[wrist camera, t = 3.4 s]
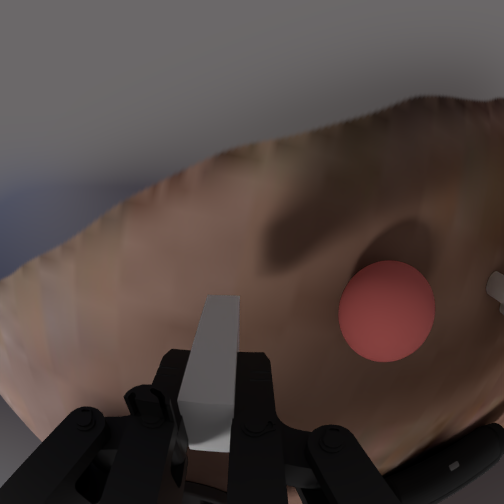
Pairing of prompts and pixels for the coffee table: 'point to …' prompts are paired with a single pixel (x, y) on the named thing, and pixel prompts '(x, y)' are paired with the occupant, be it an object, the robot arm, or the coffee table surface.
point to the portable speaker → (450, 467)
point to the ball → (386, 311)
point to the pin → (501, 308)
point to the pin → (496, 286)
